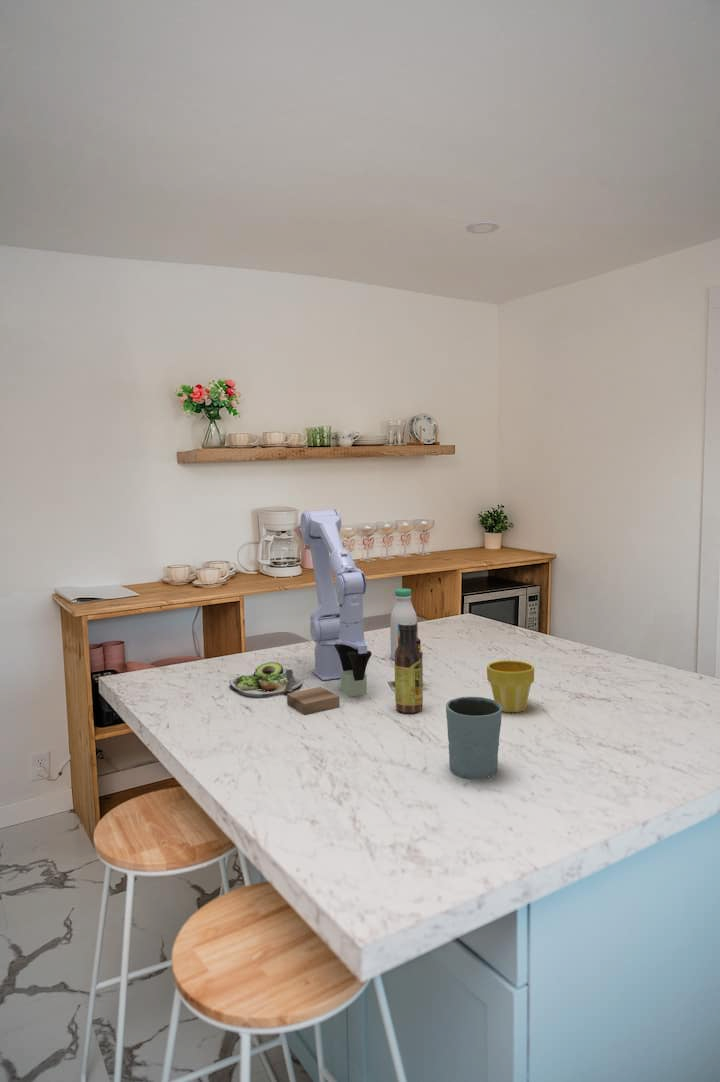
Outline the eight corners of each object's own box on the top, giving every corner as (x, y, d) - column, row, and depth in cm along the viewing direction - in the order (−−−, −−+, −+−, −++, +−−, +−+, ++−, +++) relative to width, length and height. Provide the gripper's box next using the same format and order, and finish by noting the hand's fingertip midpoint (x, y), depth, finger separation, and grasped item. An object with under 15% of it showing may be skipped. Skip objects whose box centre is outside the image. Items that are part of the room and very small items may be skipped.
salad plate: (319, 691, 180) (319, 673, 179) (252, 706, 171) (252, 687, 170) (286, 673, 196) (285, 656, 196) (223, 685, 187) (222, 668, 187)
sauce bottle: (421, 715, 161) (419, 627, 158) (393, 713, 162) (391, 626, 160) (424, 705, 167) (423, 620, 165) (397, 704, 168) (395, 620, 166)
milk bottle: (388, 661, 204) (386, 591, 202) (394, 654, 212) (393, 586, 209) (414, 663, 202) (413, 592, 200) (420, 655, 209) (419, 587, 207)
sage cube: (340, 691, 179) (340, 671, 179) (359, 688, 181) (358, 669, 180) (347, 697, 174) (347, 677, 174) (366, 694, 176) (366, 674, 176)
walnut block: (287, 706, 170) (286, 693, 170) (321, 698, 175) (320, 686, 175) (304, 717, 163) (304, 704, 162) (339, 709, 167) (339, 696, 167)
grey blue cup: (465, 753, 139) (464, 692, 138) (512, 766, 133) (512, 703, 131) (435, 772, 131) (434, 707, 130) (485, 786, 125) (484, 719, 123)
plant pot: (496, 697, 171) (496, 657, 170) (540, 704, 165) (540, 662, 164) (480, 711, 162) (480, 668, 161) (525, 718, 157) (525, 674, 156)
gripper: (326, 617, 181) (328, 670, 182) (346, 628, 168) (348, 686, 169) (352, 614, 184) (354, 667, 185) (374, 625, 170) (376, 682, 171)
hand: (353, 675), depth 177 cm, fingers open, 7 cm apart
